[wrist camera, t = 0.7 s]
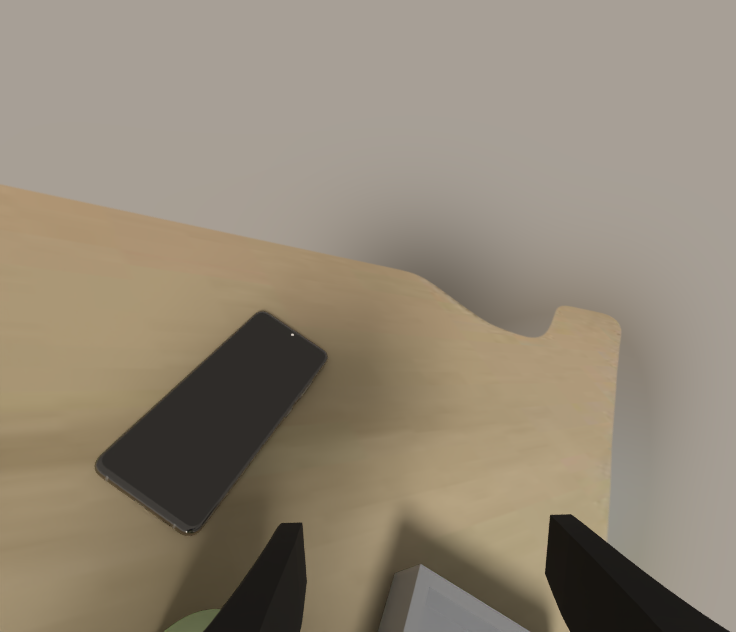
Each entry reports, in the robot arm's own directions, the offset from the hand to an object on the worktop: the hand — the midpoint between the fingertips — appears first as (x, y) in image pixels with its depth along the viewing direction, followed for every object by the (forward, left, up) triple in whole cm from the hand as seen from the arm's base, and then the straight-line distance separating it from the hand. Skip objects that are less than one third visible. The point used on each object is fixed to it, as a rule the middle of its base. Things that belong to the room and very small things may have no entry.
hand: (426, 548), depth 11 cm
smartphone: (+8, +10, -16) cm, 20 cm away
